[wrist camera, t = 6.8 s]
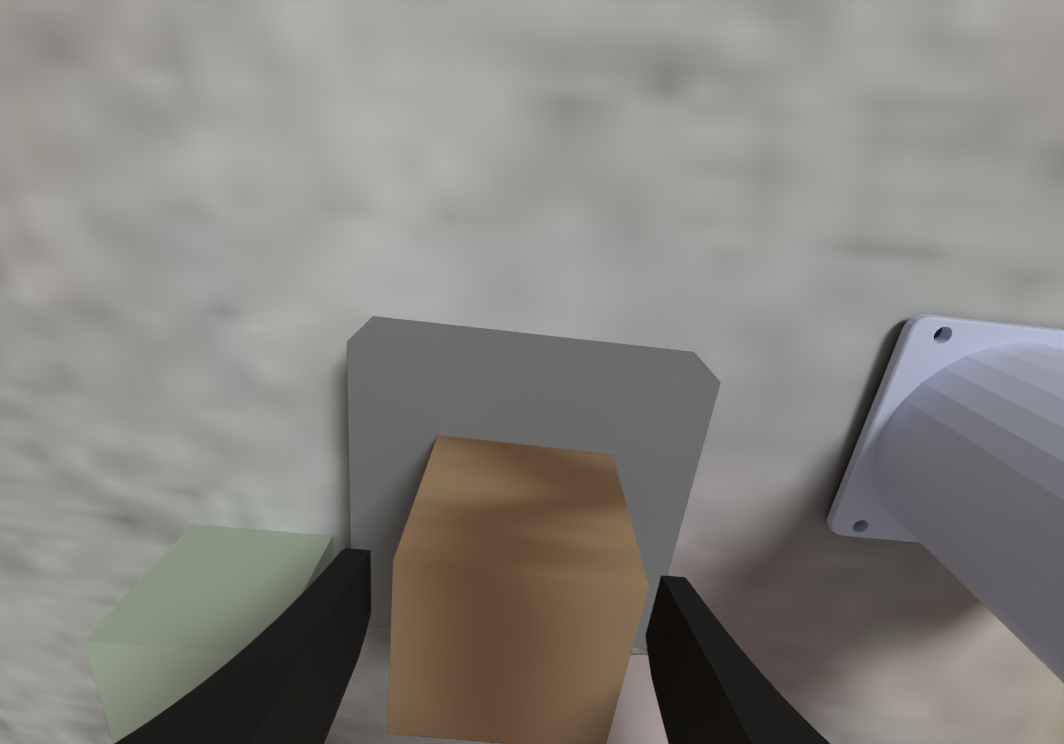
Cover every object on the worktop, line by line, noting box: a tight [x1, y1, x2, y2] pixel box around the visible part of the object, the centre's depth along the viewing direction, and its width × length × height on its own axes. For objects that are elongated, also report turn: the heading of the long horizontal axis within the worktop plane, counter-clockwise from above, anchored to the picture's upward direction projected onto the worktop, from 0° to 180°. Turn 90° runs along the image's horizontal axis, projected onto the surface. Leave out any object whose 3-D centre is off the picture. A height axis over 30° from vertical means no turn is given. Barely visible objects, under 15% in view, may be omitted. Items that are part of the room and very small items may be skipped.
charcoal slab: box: [347, 316, 720, 649], centre depth 17 cm, size 10×10×3 cm
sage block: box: [83, 524, 334, 744], centre depth 17 cm, size 5×5×5 cm
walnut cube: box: [387, 435, 649, 744], centre depth 13 cm, size 5×5×5 cm
